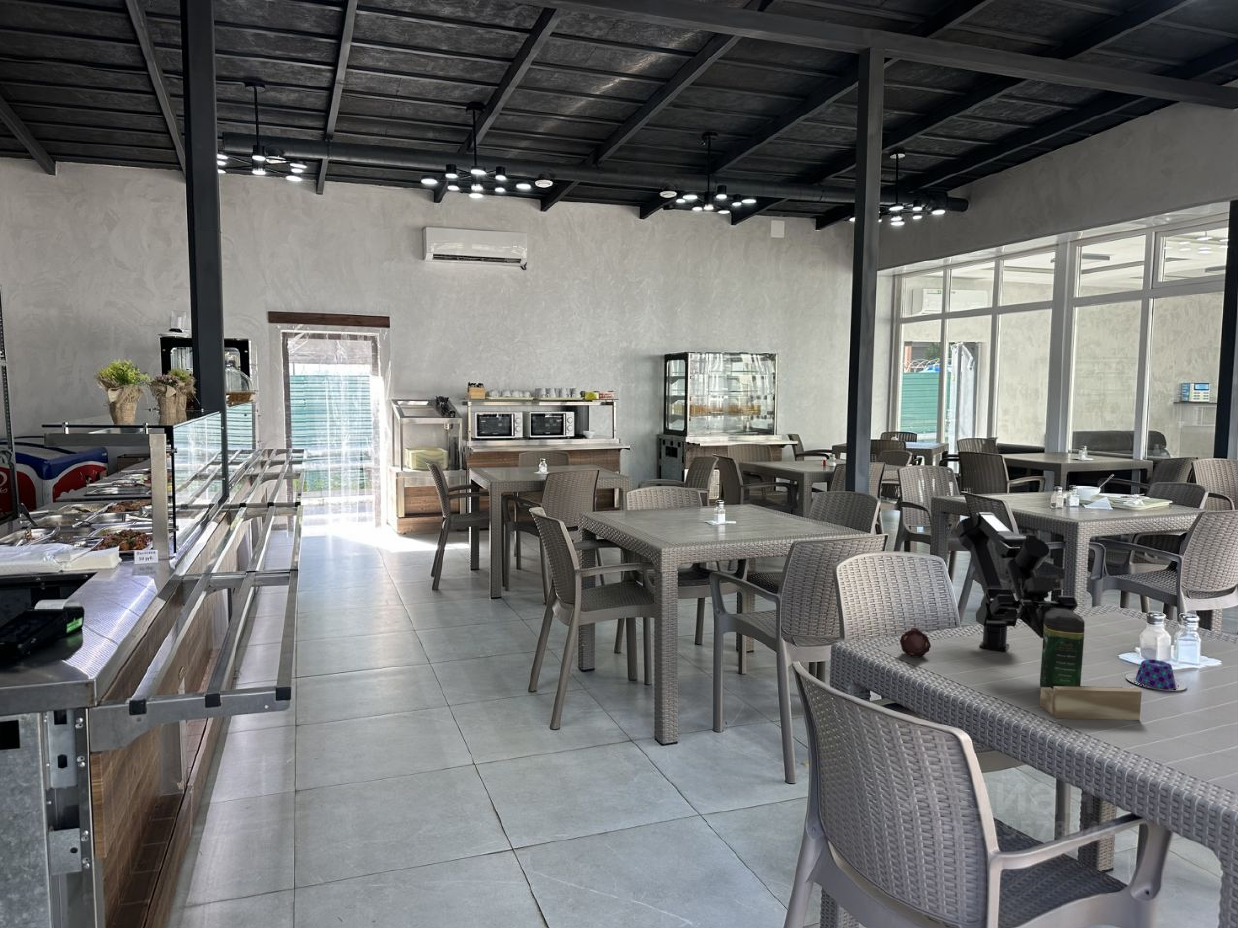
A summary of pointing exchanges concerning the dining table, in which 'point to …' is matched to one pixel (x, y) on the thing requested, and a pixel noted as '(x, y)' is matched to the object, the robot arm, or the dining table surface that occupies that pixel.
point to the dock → (1092, 702)
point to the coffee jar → (1062, 649)
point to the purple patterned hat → (1156, 675)
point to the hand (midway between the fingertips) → (1043, 637)
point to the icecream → (915, 643)
